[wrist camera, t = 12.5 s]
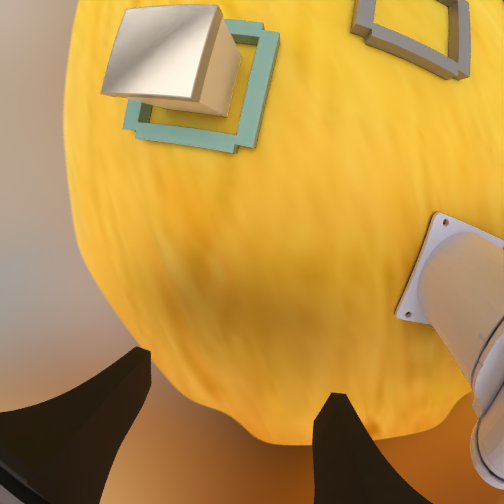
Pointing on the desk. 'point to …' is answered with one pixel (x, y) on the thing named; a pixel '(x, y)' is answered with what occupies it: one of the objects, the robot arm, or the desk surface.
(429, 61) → the socket
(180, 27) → the plug
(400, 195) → the desk surface
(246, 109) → the socket
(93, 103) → the desk surface
